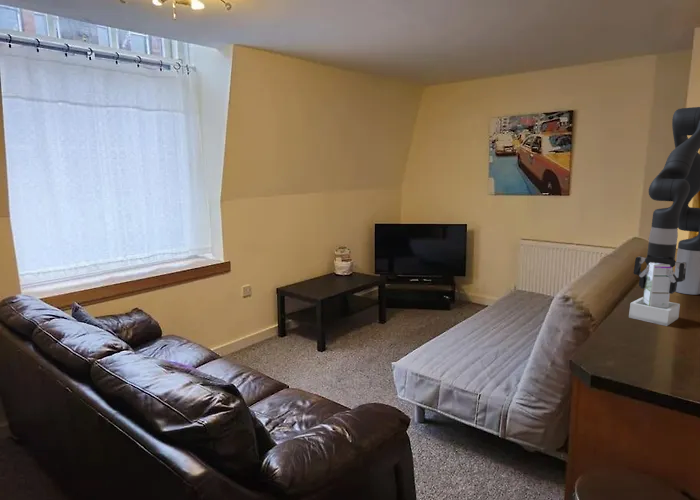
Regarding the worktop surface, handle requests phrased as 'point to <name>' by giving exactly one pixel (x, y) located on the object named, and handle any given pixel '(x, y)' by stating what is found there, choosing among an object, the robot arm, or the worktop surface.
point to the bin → (654, 312)
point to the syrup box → (657, 286)
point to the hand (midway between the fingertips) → (656, 290)
